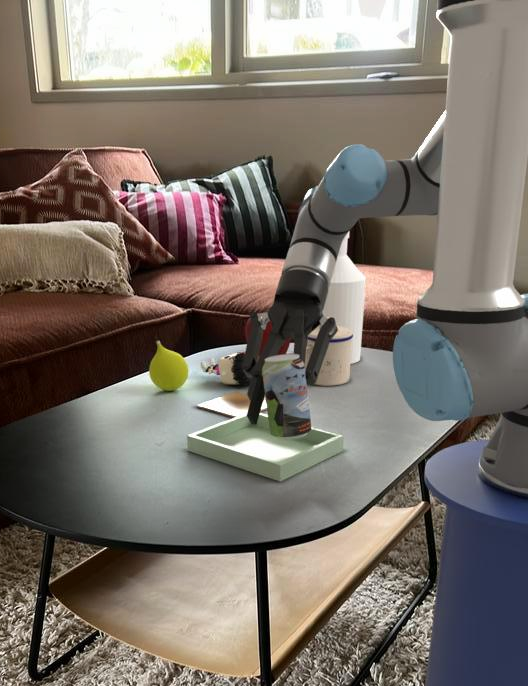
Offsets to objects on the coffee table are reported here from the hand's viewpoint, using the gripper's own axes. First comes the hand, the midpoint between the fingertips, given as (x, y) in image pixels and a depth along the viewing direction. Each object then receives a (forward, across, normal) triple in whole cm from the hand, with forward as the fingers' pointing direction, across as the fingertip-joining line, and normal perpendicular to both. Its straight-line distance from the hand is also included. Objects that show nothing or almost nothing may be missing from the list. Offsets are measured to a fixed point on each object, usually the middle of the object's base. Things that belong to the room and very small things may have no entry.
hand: (265, 421), depth 107 cm
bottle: (-36, +7, -43) cm, 57 cm away
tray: (+2, +1, -5) cm, 6 cm away
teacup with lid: (-24, +4, -31) cm, 40 cm away
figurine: (-20, +20, -27) cm, 39 cm away
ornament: (-13, +28, -21) cm, 37 cm away
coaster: (-11, +13, -18) cm, 24 cm away
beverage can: (0, -2, -5) cm, 5 cm away
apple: (-31, +18, -38) cm, 53 cm away
